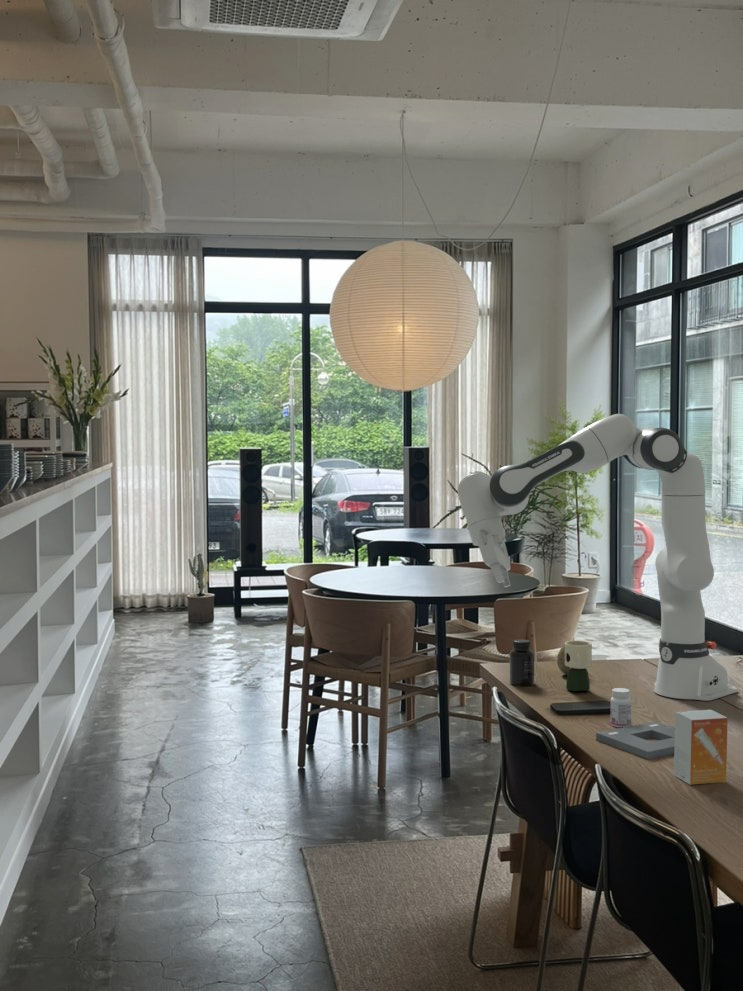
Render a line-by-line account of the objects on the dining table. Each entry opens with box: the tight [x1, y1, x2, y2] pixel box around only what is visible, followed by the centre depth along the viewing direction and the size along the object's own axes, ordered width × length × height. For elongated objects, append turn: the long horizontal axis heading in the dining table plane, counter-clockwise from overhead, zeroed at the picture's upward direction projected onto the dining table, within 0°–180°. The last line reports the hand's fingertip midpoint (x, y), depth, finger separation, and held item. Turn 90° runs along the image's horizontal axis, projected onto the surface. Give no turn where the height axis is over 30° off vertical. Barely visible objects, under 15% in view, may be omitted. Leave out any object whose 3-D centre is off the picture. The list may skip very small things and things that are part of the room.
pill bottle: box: [609, 687, 632, 728], centre depth 233 cm, size 5×5×8 cm
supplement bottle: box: [509, 639, 536, 687], centre depth 274 cm, size 7×7×12 cm
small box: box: [673, 709, 729, 786], centre depth 196 cm, size 8×6×13 cm
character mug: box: [564, 640, 593, 693], centre depth 266 cm, size 11×7×13 cm, turn 171°
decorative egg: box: [556, 643, 570, 676], centre depth 284 cm, size 7×7×10 cm
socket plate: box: [595, 721, 675, 760], centre depth 219 cm, size 18×16×2 cm
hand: (504, 584), depth 252 cm, fingers open, 8 cm apart
